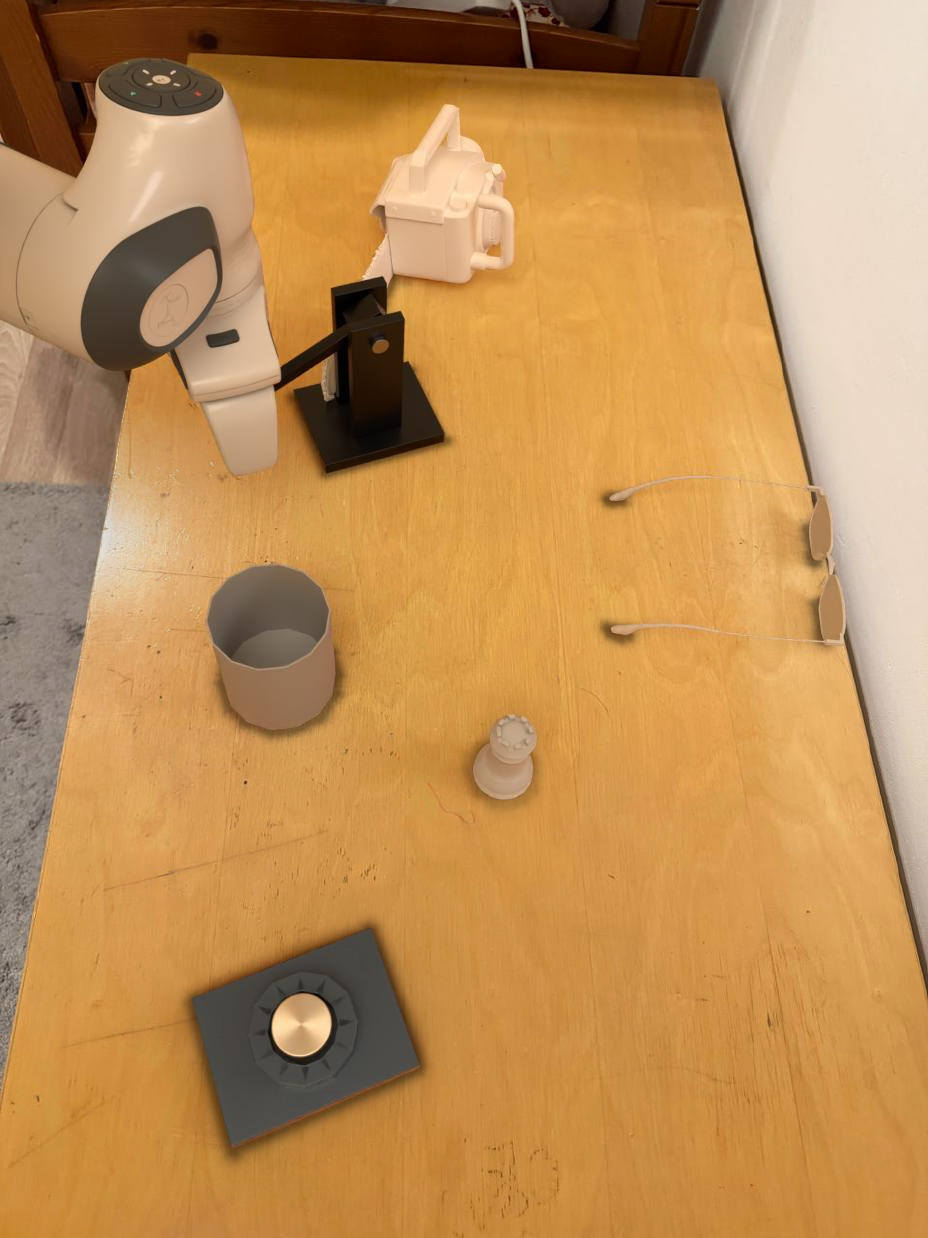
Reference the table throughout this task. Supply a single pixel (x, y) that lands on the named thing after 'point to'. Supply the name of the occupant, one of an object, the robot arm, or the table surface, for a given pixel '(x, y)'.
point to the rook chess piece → (506, 758)
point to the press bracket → (368, 390)
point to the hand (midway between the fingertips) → (227, 421)
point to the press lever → (329, 341)
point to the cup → (273, 645)
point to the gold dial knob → (302, 1026)
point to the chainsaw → (439, 215)
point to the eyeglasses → (821, 548)
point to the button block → (294, 1089)
